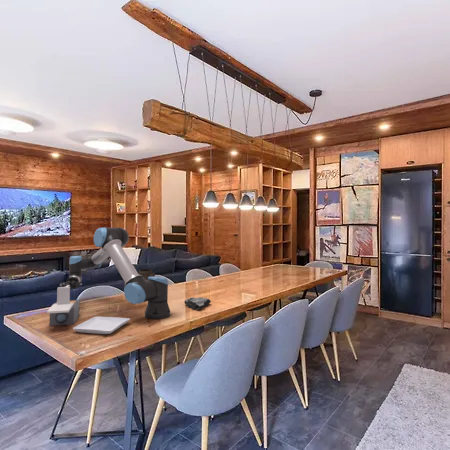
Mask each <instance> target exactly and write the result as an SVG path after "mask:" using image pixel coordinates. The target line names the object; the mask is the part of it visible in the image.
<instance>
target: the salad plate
mask: <svg viewBox="0 0 450 450" xmlns="http://www.w3.org/2000/svg"><path fill="white" fill-rule="evenodd" d="M130 320H131V318H128V317H116V316H94V317H92V318H89V319H88V320H85V321H83V322H81V323H80V324H77V325H76V326H74V327H72V329H73V331H75V332H78V333H83V334H84V333H87V334H97V335H109V334H110V335H111V334H112V333H114V332H115V331H117V330H118V329H119V328H122V327H123V326H125V325H126V324H127V323H128V322H130Z"/></svg>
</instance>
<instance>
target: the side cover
mask: <svg viewBox="0 0 450 450" xmlns="http://www.w3.org/2000/svg"><path fill="white" fill-rule="evenodd" d="M70 300H71V289H70V287H60V286H58V287H57V289H56V302H57V304H55V303H53V304H52V305H51V306H50V307H49V308H48V309H47V310H46V314H50V313H64V312H69V311H70V309H71V308H72V307H73V305H74V303H70Z"/></svg>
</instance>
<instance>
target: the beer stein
mask: <svg viewBox="0 0 450 450" xmlns="http://www.w3.org/2000/svg"><path fill="white" fill-rule="evenodd" d="M138 274H139V275H142V276H143V277H144V279H145V280H148V277H156V273H154V272H153V270H152V269H149V268H141V269H139V271H138Z"/></svg>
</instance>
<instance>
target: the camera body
mask: <svg viewBox="0 0 450 450" xmlns="http://www.w3.org/2000/svg"><path fill="white" fill-rule="evenodd" d="M70 303H74V305H73V307H72V308H71V309H70V311H69V312H64V313H49V327H50V326H51V327H54V326H55V327H56V326H65V325H66V326H68V325H75V323H76V321H77V320H78V318H79V317H80V299H74V300H73V299H70ZM54 304H57V301H56V302H54Z"/></svg>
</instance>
